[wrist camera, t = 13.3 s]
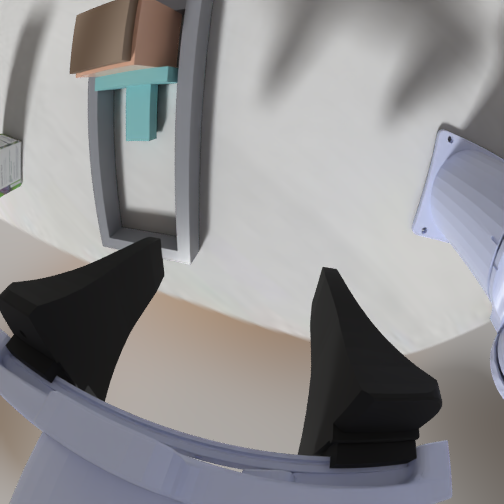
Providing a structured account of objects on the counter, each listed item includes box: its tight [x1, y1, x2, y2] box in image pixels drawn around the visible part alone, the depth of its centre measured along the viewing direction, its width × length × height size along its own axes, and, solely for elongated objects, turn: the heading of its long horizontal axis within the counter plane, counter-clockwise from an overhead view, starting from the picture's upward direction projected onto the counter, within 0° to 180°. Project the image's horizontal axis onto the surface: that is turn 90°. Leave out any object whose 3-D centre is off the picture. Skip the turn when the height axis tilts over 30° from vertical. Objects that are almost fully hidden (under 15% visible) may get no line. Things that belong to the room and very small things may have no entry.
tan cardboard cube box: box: [70, 0, 182, 78], centre depth 11 cm, size 4×4×6 cm
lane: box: [88, 0, 213, 264], centre depth 16 cm, size 8×20×2 cm, turn 175°
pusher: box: [95, 66, 179, 141], centre depth 15 cm, size 6×5×2 cm
